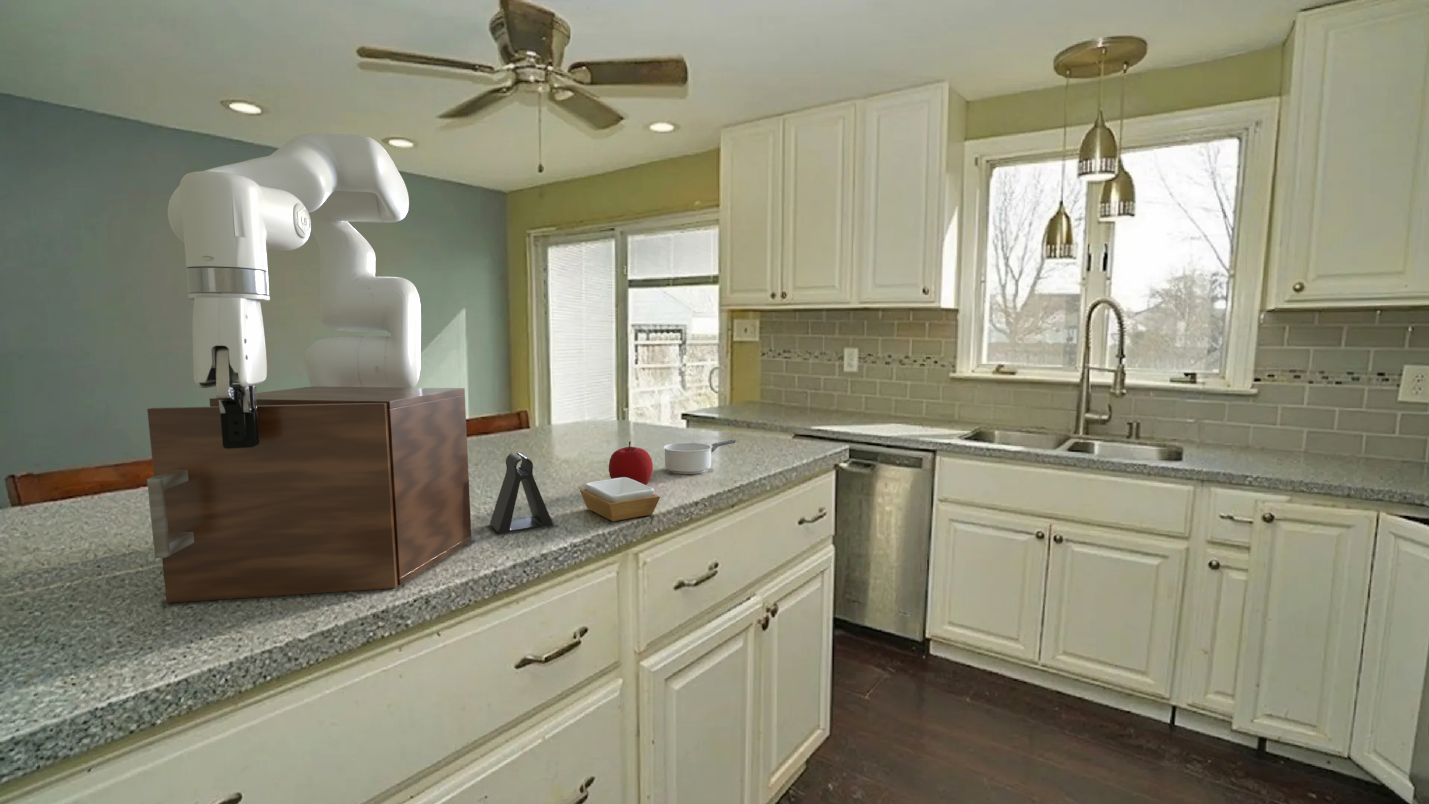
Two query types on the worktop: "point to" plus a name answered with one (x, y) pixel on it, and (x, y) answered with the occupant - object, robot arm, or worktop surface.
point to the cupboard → (413, 465)
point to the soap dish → (619, 498)
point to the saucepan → (690, 456)
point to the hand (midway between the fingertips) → (241, 446)
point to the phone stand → (509, 494)
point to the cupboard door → (273, 502)
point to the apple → (631, 464)
